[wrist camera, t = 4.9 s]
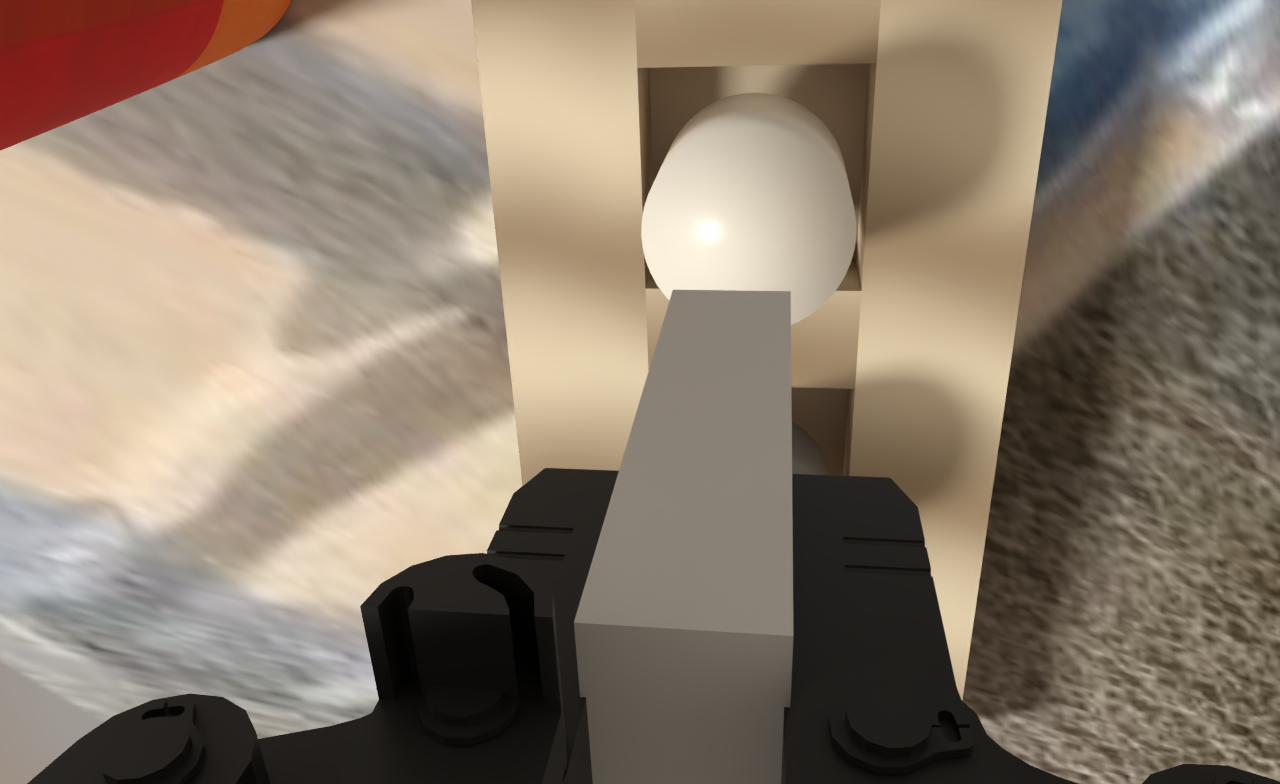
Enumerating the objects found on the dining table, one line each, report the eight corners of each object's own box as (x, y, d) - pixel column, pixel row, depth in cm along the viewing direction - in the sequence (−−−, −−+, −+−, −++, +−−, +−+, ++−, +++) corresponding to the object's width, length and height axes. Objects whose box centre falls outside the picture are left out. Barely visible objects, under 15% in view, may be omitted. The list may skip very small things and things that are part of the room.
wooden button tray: (514, -39, 24) (467, -29, 20) (1025, -57, 22) (1069, -50, 19) (579, 699, 35) (555, 791, 31) (927, 724, 33) (944, 823, 29)
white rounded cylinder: (659, 94, 21) (637, 128, 18) (851, 90, 20) (863, 124, 17) (664, 272, 23) (645, 332, 19) (841, 274, 22) (849, 335, 19)
